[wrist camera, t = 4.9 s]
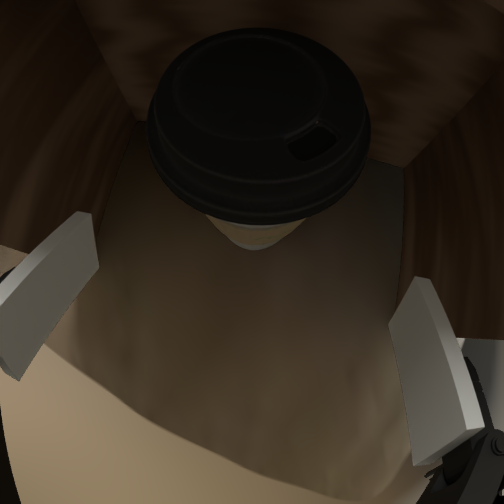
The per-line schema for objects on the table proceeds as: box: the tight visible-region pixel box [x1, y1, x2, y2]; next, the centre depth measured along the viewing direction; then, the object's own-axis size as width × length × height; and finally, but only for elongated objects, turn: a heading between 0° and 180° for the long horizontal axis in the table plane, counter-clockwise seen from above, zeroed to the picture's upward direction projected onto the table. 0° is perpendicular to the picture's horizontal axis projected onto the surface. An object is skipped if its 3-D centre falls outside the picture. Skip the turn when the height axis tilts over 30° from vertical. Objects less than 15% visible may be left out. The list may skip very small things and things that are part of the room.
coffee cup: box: [146, 28, 371, 250], centre depth 17 cm, size 9×9×15 cm
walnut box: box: [0, 0, 504, 340], centre depth 14 cm, size 28×16×22 cm, turn 79°
